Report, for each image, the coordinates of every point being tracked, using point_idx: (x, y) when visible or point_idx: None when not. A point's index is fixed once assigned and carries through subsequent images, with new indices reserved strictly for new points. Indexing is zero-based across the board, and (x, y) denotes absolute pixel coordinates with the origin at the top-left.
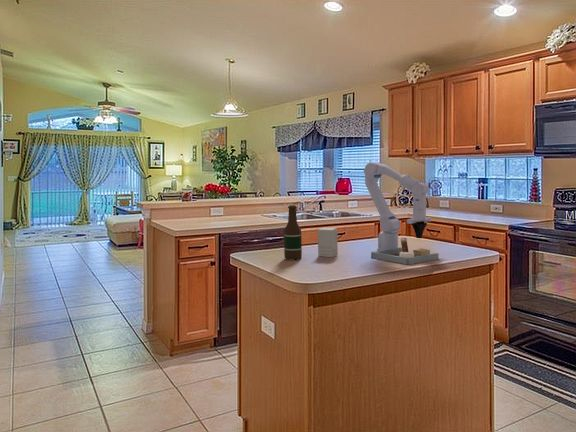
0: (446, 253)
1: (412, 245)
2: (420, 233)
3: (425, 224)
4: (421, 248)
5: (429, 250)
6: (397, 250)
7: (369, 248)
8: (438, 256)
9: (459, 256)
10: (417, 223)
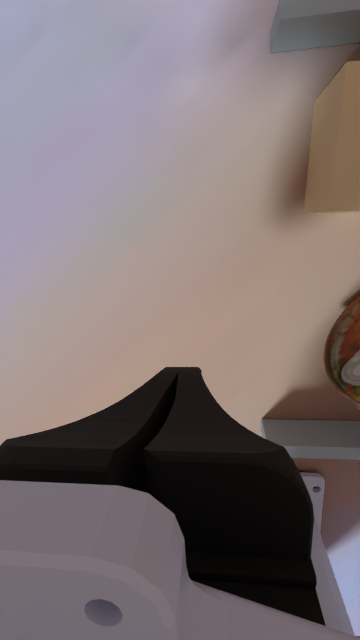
0: (13, 197)
1: None
2: (199, 385)
3: (61, 443)
4: (331, 204)
5: (356, 62)
6: (330, 435)
7: None
8: (275, 17)
9: (16, 7)
10: (303, 575)
